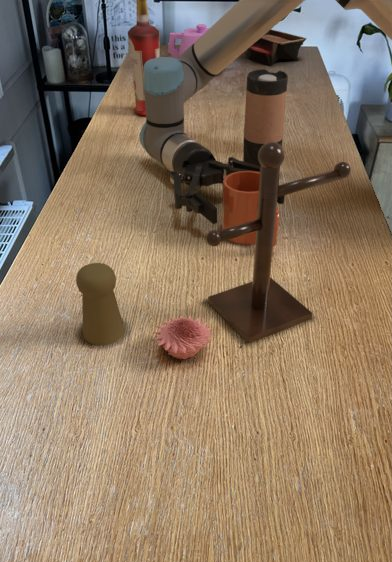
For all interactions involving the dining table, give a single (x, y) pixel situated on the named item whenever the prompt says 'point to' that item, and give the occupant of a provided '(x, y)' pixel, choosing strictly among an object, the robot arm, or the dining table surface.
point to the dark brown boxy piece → (275, 47)
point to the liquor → (142, 51)
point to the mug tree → (265, 256)
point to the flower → (183, 336)
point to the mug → (242, 204)
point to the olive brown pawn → (99, 304)
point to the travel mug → (263, 111)
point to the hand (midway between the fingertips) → (249, 206)
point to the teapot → (185, 39)
